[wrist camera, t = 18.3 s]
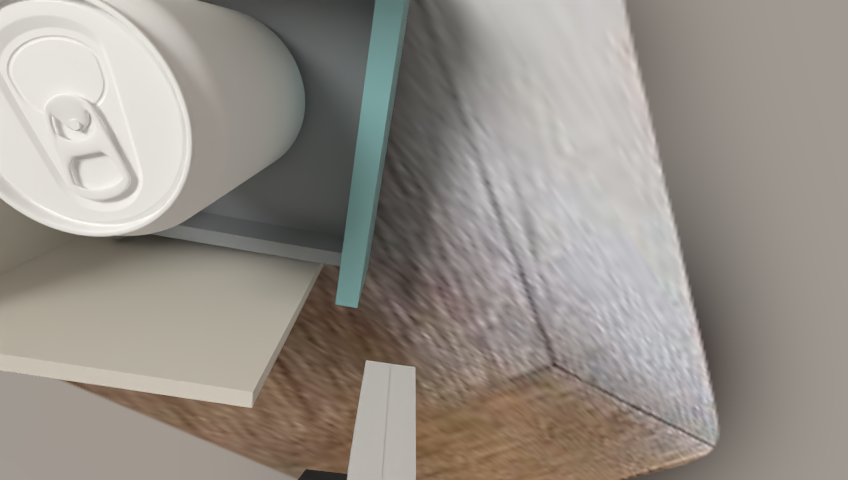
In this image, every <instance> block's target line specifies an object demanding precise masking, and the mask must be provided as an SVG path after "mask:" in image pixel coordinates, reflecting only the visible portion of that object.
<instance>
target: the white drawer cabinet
mask: <svg viewBox="0 0 848 480" xmlns="http://www.w3.org/2000/svg"><path fill="white" fill-rule="evenodd" d="M323 266H324V264H323V263H317V262H311V261H305V260H299V259H294V258H288V257H282V256H276V255H270V254H264V253H258V252H252V251H247V250H241V249H235V248H229V247H223V246H217V245H211V244H206V243H200V242H194V241H188V240H182V239H176V238H170V237H165V236H159V235H153V234H146V235H138V236H125V237H123V238H121V239H117V238H111V237H94V236H83V235H76V234H72V233H67V232H63V231H60V230H57V229H54V228H51V227H49V226H46V225H44V224H41V223H39V222H37V221H35V220H33V219H31V218H29V217H27V216H26V215H24V214H22V213H21V212H19V211H17V210H16V209H14V208H13V207H12V206H10V205H9V204H7V203H6V202H5V201H4V200H2V199H1V198H0V370H1V371H7V372H14V373H21V374H28V375H34V376H41V377H47V378H54V379H61V380H68V381H74V382H81V383H88V384H94V385H101V386H108V387H115V388H121V389H128V390H135V391H141V392H148V393H155V394H161V395H168V396H175V397H182V398H188V399H195V400H202V401H208V402H215V403H222V404H228V405H235V406H242V407H249V408H252V407H253V405H254V403H255V401H256V399H257V397H258V395H259V393H260V391H261V389H262V387H263V385H264V383H265V381H266V379H267V377H268V375H269V373H270V371H271V369H272V367H273V365H274V363H275V361H276V359H277V357H278V355H279V353H280V351H281V349H282V347H283V345H284V343H285V341H286V339H287V337H288V335H289V333H290V331H291V329H292V327H293V325H294V323H295V321H296V319H297V317H298V315H299V313H300V311H301V309H302V307H303V305H304V303H305V301H306V299H307V297H308V295H309V293H310V291H311V289H312V287H313V285H314V283H315V281H316V279H317V277H318V275H319V273H320V272H321V270H322V268H323Z"/></svg>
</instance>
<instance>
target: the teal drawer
mask: <svg viewBox="0 0 848 480" xmlns="http://www.w3.org/2000/svg"><path fill="white" fill-rule="evenodd" d="M198 1H202V2H206V3H210V4H213V5H217V6H221V7H225V8H229V9H232V10H236V11H239V12H242V13H244V14H247V15H249V16H251V17H253V18H255V19H256V20H258V21H260V22H261V23H263V24H264V25H265V26H267V27H268V28H269V29H270V30H272V31H273V32H274V33H275V34H276V35H277V36H278V37H279V38H280V39H281V41H282V42H283V43H284V44H285V46H286V47H287V48H288V50H289V51H290V53H291V55H292V56H293V58H294V60H295V62H296V64H297V66H298V69H299V71H300V74H301V77H302V81H303V86H304V92H305V113H304V119H303V123H302V126H301V129H300V132H299V134H298V136H297V138H296V140H295V141H294V143H293V144H292V146H291V147H290V148H289V149H288V151H287V152H286V153H285V154H284V155H283V156H281V157H280V158H279V159H278V160H276V161H275V162H273V163H272V164H270V165H269V166H267V167H266V168H264V169H263V170H261V171H260V172H258V173H257V174H255V175H254V176H252V177H251V178H249V179H248V180H246V181H245V182H243V183H242V184H240V185H239V186H237V187H236V188H234V189H233V190H231V191H230V192H228V193H227V194H225V195H224V196H222V197H221V198H219V199H218V200H216V201H215V202H213V203H212V204H210V205H209V206H207V207H206V208H204V209H203V210H201V211H199V212H198V213H196V214H195V215H193V216H192V217H190V218H189V219H187V220H186V221H184V222H182V223H180V224H178V225H176V226H174V227H172V228H169V229H166V230H163V231H160V232H156V233H152V234H153V235H159V236H165V237H170V238H176V239H182V240H188V241H194V242H200V243H206V244H211V245H217V246H223V247H229V248H235V249H241V250H247V251H252V252H258V253H264V254H270V255H276V256H282V257H288V258H294V259H299V260H305V261H311V262H317V263H323V264H329V265H335V266H340V272H339V280H338V287H337V295H336V303H335V304H336V305H342V306H348V307H354V308H358V304H359V300H360V297H361V293H362V290H363V286H364V282H365V279H366V275H367V272H368V266H369V259H370V253H371V246H372V240H373V234H374V227H375V221H376V215H377V208H378V202H379V196H380V189H381V183H382V176H383V170H384V164H385V157H386V151H387V145H388V138H389V132H390V126H391V119H392V113H393V106H394V100H395V94H396V87H397V81H398V75H399V68H400V62H401V56H402V49H403V43H404V36H405V30H406V24H407V17H408V11H409V5H410V0H198ZM106 237H111V238H117V239H121V238H123V237H125V236H106Z"/></svg>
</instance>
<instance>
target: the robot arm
mask: <svg viewBox="0 0 848 480" xmlns="http://www.w3.org/2000/svg"><path fill="white" fill-rule="evenodd" d="M298 480H416V385H415V367H411V366H403V365H396V364H389V363H382V362H375V361H368V360H366V363H365V369H364V375H363V381H362V387H361V393H360V398H359V404H358V410H357V416H356V422H355V428H354V435H353V441H352V447H351V453H350V460H349V466H348V472H347V474H341V473H332V472H324V471H315V470H307V469H306V470H305V472H304V473H303V474H302V475H301V477H300V478H299V479H298Z"/></svg>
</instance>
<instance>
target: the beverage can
mask: <svg viewBox="0 0 848 480" xmlns="http://www.w3.org/2000/svg"><path fill="white" fill-rule="evenodd" d="M304 113H305V92H304V86H303V81H302V77H301V74H300V71H299V69H298V66H297V64H296V62H295V60H294V58H293V56H292V55H291V53H290V51H289V50H288V48H287V47H286V46H285V44H284V43H283V42H282V41H281V39H280V38H279V37H278V36H277V35H276V34H275V33H274V32H273V31H272V30H270V29H269V28H268V27H267V26H265V25H264V24H263V23H261V22H260V21H258V20H256V19H255V18H253V17H251V16H249V15H247V14H244V13H242V12H239V11H236V10H232V9H229V8H225V7H221V6H217V5H213V4H210V3H206V2H202V1H198V0H0V198H1V199H2V200H4V201H5V202H6V203H7V204H9V205H10V206H12V207H13V208H14V209H16V210H17V211H19V212H21V213H22V214H24V215H26V216H27V217H29V218H31V219H33V220H35V221H37V222H39V223H41V224H44V225H46V226H49V227H51V228H54V229H57V230H60V231H63V232H67V233H72V234H76V235H83V236H94V237H106V236H138V235H146V234H152V233H156V232H160V231H163V230H166V229H169V228H172V227H174V226H176V225H178V224H180V223H182V222H184V221H186V220H187V219H189V218H190V217H192V216H193V215H195V214H196V213H198V212H199V211H201V210H203V209H204V208H206V207H207V206H209V205H210V204H212V203H213V202H215V201H216V200H218V199H219V198H221V197H222V196H224V195H225V194H227V193H228V192H230V191H231V190H233V189H234V188H236V187H237V186H239V185H240V184H242V183H243V182H245V181H246V180H248V179H249V178H251V177H252V176H254V175H255V174H257V173H258V172H260V171H261V170H263V169H264V168H266V167H267V166H269V165H270V164H272V163H273V162H275V161H276V160H278V159H279V158H280V157H281V156H283V155H284V154H285V153H286V152H287V151H288V149H289V148H290V147H291V146H292V144H293V143H294V141H295V140H296V138H297V136H298V134H299V132H300V129H301V126H302V123H303V119H304Z"/></svg>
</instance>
